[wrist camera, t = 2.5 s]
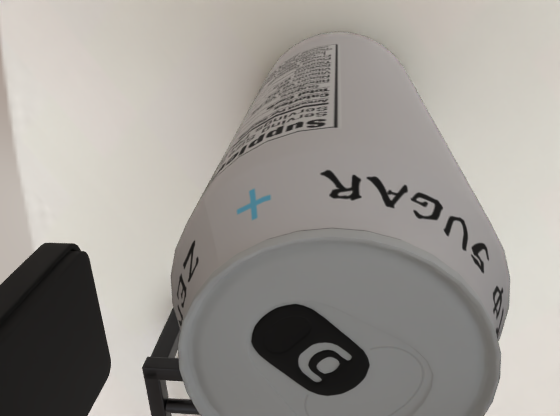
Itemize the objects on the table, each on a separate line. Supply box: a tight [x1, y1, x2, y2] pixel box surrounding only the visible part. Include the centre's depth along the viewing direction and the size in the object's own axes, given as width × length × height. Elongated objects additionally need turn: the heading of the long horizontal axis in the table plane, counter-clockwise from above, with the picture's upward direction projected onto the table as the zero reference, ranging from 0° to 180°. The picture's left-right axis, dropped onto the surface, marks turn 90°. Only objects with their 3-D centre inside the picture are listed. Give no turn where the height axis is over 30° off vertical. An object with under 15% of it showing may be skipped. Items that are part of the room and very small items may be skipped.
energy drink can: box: [171, 32, 510, 416], centre depth 14 cm, size 6×6×15 cm
